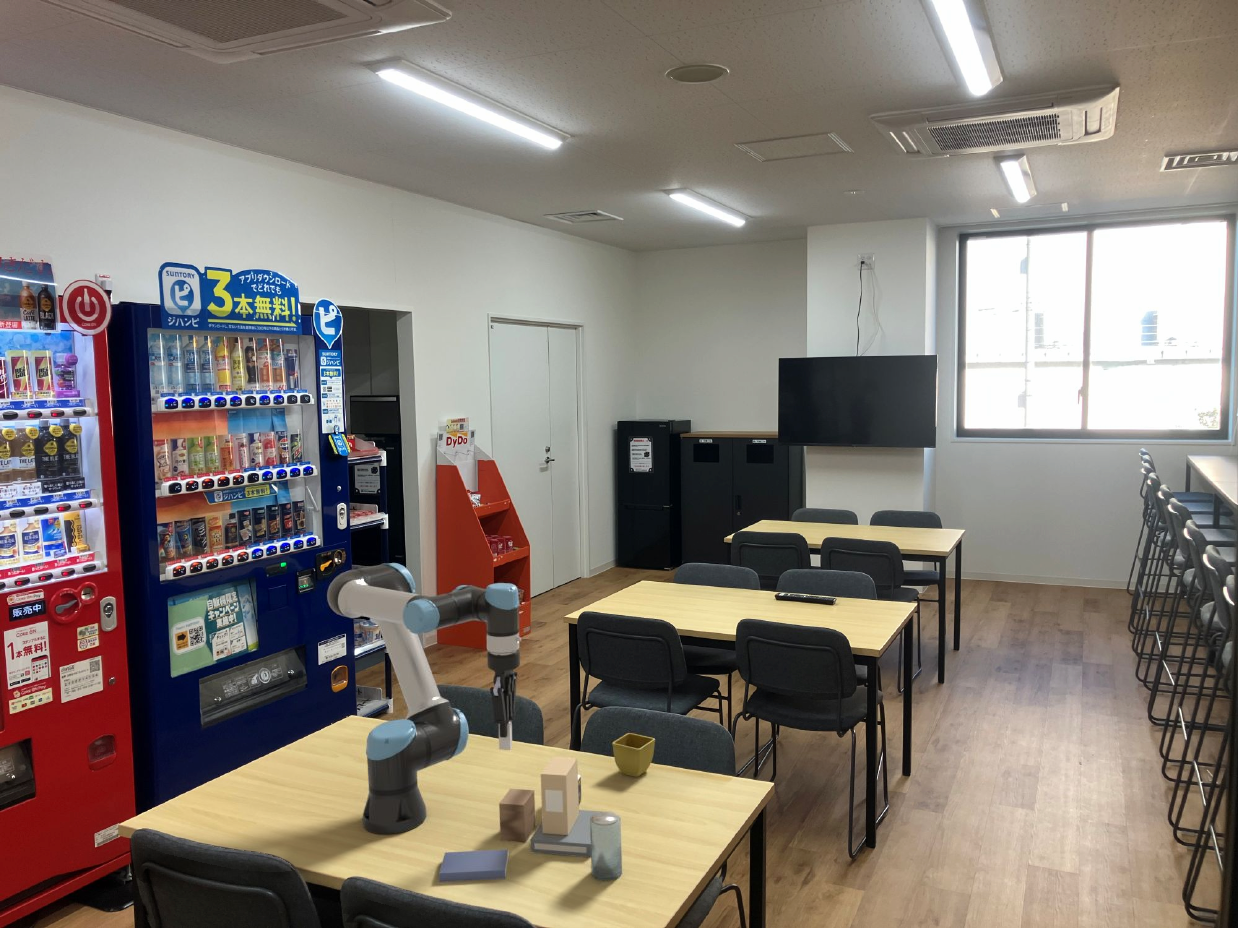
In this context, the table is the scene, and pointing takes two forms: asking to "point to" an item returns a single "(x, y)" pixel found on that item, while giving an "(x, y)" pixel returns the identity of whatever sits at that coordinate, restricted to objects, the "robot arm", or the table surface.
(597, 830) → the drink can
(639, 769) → the flower pot
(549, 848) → the podium
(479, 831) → the table surface
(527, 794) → the rest block
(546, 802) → the carton
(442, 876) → the notebook
